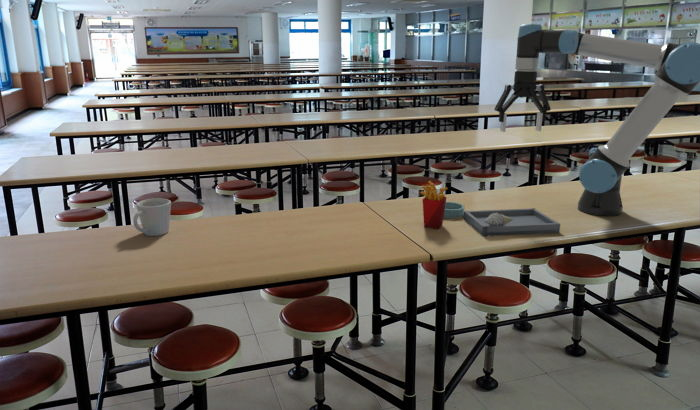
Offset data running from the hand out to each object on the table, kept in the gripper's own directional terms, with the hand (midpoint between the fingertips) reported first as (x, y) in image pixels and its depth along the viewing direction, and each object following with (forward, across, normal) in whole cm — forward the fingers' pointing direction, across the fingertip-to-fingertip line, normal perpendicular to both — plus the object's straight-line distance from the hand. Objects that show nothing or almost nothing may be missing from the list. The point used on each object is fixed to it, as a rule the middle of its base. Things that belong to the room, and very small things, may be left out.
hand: (520, 131), depth 200 cm
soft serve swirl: (+26, +11, +22) cm, 36 cm away
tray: (+29, +11, +21) cm, 37 cm away
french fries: (+29, +38, +18) cm, 51 cm away
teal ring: (+29, +27, +5) cm, 40 cm away
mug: (+29, +128, +14) cm, 132 cm away
